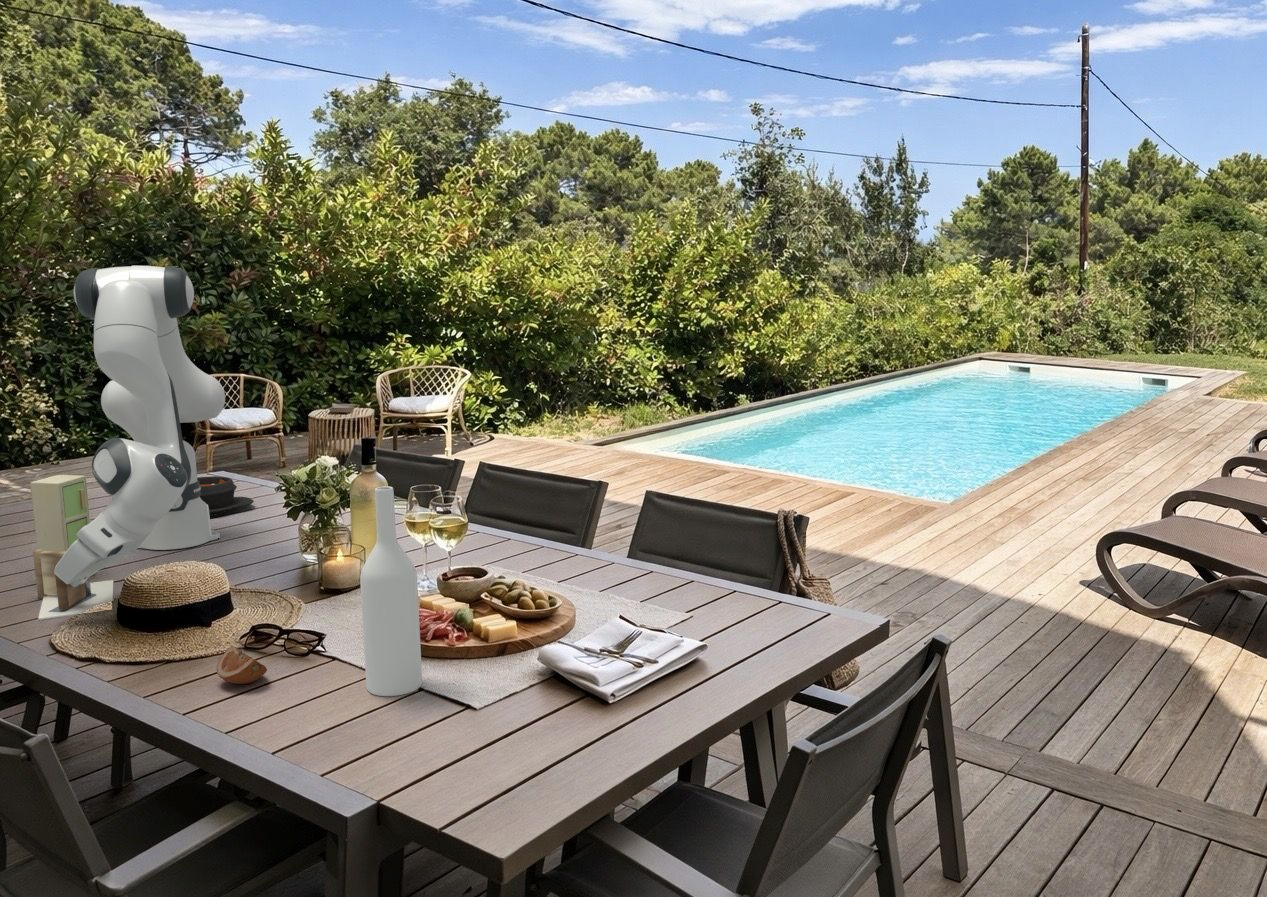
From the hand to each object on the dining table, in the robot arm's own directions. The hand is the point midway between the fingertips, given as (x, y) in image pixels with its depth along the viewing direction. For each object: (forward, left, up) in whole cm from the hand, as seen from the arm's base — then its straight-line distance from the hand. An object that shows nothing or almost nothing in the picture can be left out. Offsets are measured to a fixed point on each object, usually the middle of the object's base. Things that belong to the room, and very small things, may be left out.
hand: (75, 582), depth 193 cm
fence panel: (-1, -1, -4) cm, 4 cm away
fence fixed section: (-9, -3, -5) cm, 10 cm away
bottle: (+66, +44, -5) cm, 79 cm away
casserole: (-76, +27, -5) cm, 81 cm away
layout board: (-6, 0, -5) cm, 8 cm away
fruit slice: (+54, +24, -5) cm, 59 cm away
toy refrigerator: (-22, -2, -5) cm, 23 cm away
